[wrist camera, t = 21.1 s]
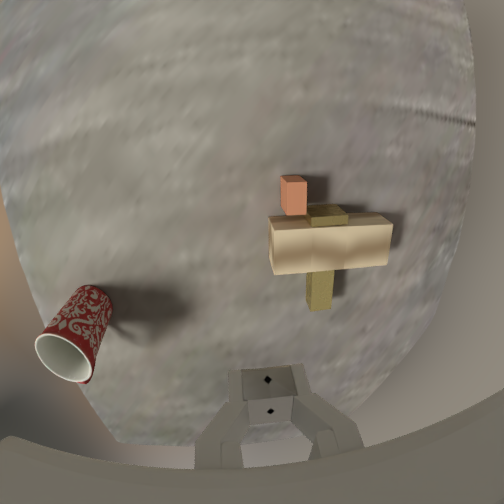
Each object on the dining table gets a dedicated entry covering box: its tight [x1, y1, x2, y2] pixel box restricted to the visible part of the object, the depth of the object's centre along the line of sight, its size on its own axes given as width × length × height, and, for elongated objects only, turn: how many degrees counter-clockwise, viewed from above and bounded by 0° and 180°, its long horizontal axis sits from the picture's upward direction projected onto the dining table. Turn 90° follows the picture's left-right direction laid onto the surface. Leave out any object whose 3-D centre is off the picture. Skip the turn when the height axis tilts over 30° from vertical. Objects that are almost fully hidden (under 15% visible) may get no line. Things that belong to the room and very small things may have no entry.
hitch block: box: [268, 212, 393, 275], centre depth 39 cm, size 6×16×5 cm, turn 92°
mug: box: [35, 285, 113, 384], centre depth 37 cm, size 13×9×14 cm
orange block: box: [281, 175, 307, 215], centre depth 36 cm, size 4×2×4 cm, turn 2°
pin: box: [303, 204, 348, 312], centre depth 40 cm, size 15×5×5 cm, turn 3°
